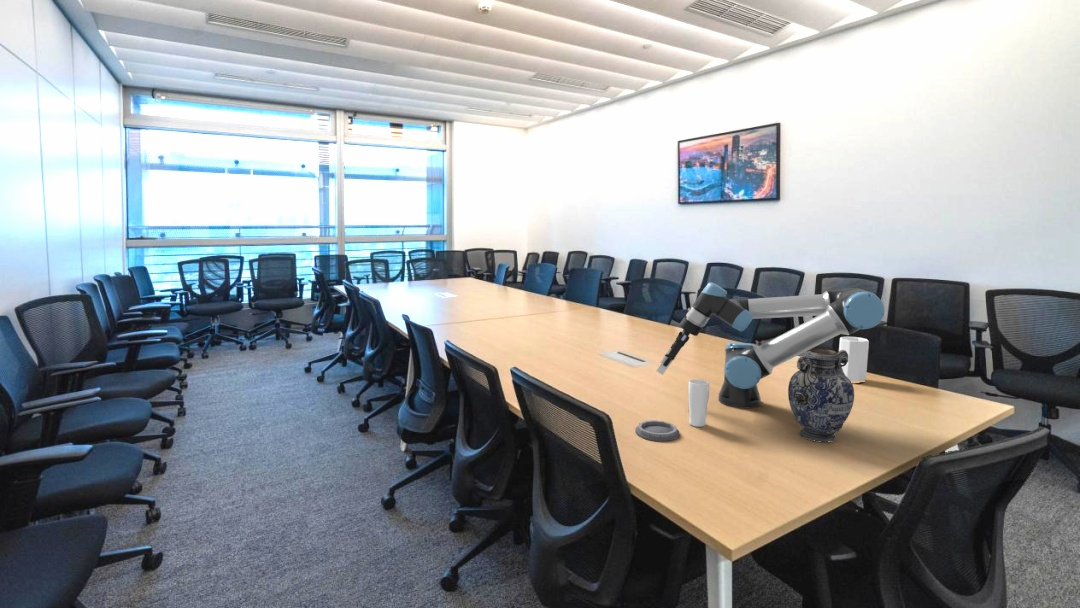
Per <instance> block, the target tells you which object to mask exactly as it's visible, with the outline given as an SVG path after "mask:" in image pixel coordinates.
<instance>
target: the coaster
mask: <svg viewBox="0 0 1080 608" xmlns="http://www.w3.org/2000/svg"><path fill="white" fill-rule="evenodd" d="M635 434H636V435H637V436H638V437H639V438H641V439H644V440H647V441H653V442H671V440H672V441H675V440H676V439H679V437H680V431H679V429H678V427H677V426H676V425H674V424H673V423H670V422H668V421H664V420H657V419H655V420H653V419H652V420H651V419H650V420H644V421H641V422H639V423H638V425H637V426H636V427H635Z"/></svg>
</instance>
